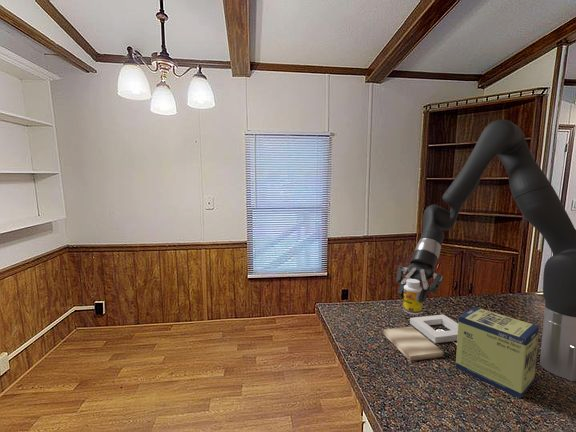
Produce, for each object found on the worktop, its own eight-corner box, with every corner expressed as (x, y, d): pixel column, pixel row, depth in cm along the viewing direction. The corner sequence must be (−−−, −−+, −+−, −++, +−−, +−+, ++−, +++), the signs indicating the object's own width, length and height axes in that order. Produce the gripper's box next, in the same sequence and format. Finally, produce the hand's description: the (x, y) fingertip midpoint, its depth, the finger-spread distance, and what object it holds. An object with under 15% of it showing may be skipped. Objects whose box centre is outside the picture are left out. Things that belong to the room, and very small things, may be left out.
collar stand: (472, 338, 98) (472, 332, 98) (435, 343, 95) (435, 337, 95) (443, 319, 111) (443, 314, 111) (409, 323, 109) (410, 317, 109)
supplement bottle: (399, 309, 96) (400, 278, 94) (413, 306, 97) (414, 276, 96) (411, 316, 90) (412, 284, 89) (425, 313, 92) (426, 282, 91)
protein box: (522, 400, 70) (527, 339, 68) (454, 367, 83) (457, 315, 81) (535, 382, 76) (540, 325, 75) (470, 354, 89) (473, 305, 87)
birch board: (443, 356, 88) (443, 351, 88) (410, 360, 86) (410, 356, 86) (411, 330, 104) (411, 326, 103) (383, 333, 102) (383, 329, 102)
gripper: (402, 245, 102) (385, 287, 95) (447, 252, 92) (431, 299, 85) (407, 257, 106) (392, 298, 99) (451, 264, 96) (437, 311, 89)
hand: (410, 298), depth 92 cm, fingers closed on supplement bottle, 5 cm apart
